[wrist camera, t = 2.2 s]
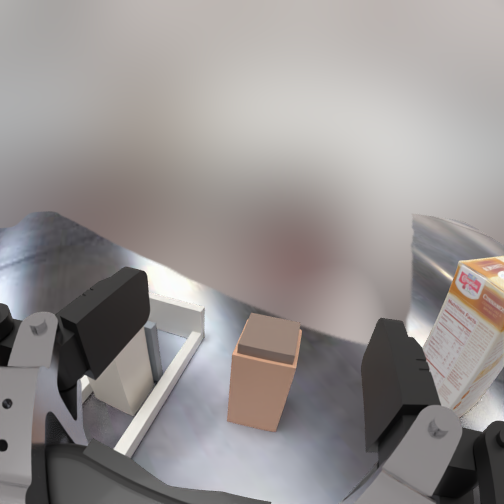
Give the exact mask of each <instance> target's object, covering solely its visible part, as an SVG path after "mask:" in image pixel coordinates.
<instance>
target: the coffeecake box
mask: <svg viewBox="0 0 504 504" xmlns="http://www.w3.org/2000/svg"><path fill="white" fill-rule="evenodd" d="M422 349H423V351H424V354H425V357H426V362H428V365H429V368H430V370H429V372H431V374H432V377H433V380H434V383H435V386H436V390H437V393H438V396H439V400H440V403H441V406H444V407H447V408H449V409H450V410H452V411H453V412H454V413H455V414H456V415H457V416H458V418H460V417H461V416H463V415H464V414H465V413H466V412H468V411H469V410H470V409H471V408H472V407H473V406H475V405H476V404H477V403H478V402H479V400H480V399H481V397H482V396H483V395H484V393H485V392H486V391H487V389H488V388H489V387H490V385H491V384H492V382H493V381H494V380H495V378H496V377H497V375H498V374H499V372H500V371H501V370H502V368H503V366H504V256H499V257H491V258H483V259H475V260H466V261H459V263H458V267H457V270H456V273H455V276H454V279H453V281H452V284H451V287H450V289H449V292H448V294H447V297H446V299H445V301H444V304H443V306H442V309H441V311H440V313H439V315H438V318H437V320H436V322H435V324H434V326H433V328H432V330H431V332H430V335H429V337H428V339H427V341H426V343H425V344H424V346H423V348H422Z"/></svg>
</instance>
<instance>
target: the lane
mask: <svg viewBox="0 0 504 504" xmlns="http://www.w3.org/2000/svg"><path fill="white" fill-rule="evenodd" d="M149 300H150V315H149V318H148V321H151V322H154V323H156V327H157V329H159V330H162V331H165V332H169V333H172V334H175V335H178V336H182V337H185V338H188V339H187V340H186V342H185V343H184V345H183V346H182V348H181V349H180V351H179V352H178V353H177V355H176V356H175V358H174V359H173V361H172V362H171V364H170V365H169V367H168V368H167V370H166V371H165V373H164V374H163V376H162V377H161V379H160V380H159V382H158V383H157V385H156V386H155V388H154V389H153V391H152V392H151V394H150V395H149V397H148V398H147V400H146V401H145V403H144V404H143V406H142V407H141V409H140V410H139V412H138V413H137V415H136V416H135V418H134V419H133V421H132V422H131V424H130V425H129V427H128V428H127V430H126V431H125V433H124V434H123V436H122V437H121V439H120V440H119V442H118V443H117V445H116V446H115V448H114V450H116V451H117V452H119V453H121V454H123V455H125V456H128V457H129V458H131V457H132V455H133V453H134V452H135V450H136V448H137V447H138V445H139V444H140V442H141V440H142V439H143V437H144V435H145V434H146V432H147V430H148V429H149V427H150V426H151V424H152V422H153V421H154V419H155V417H156V416H157V414H158V412H159V411H160V409H161V407H162V406H163V404H164V402H165V401H166V399H167V398H168V396H169V394H170V393H171V391H172V389H173V388H174V386H175V384H176V383H177V381H178V379H179V378H180V376H181V374H182V373H183V371H184V370H185V368H186V366H187V365H188V363H189V361H190V360H191V358H192V356H193V355H194V353H195V351H196V350H197V348H198V346H199V345H200V343H201V341H202V340H203V338H204V313H205V307H204V306H200V305H196V304H192V303H188V302H184V301H180V300H176V299H173V298H169V297H165V296H162V295H158V294H155V293H151V292H149ZM80 381H81V384H82V404H83V403H84V401H85V400H86V399H87V398H88V397H89V395H90V394H91V393H92V392H93V390H92V387H91V385H90V383H89V380H88V378H87V376H86V375H84V376H83V378H82V379H81V380H80Z"/></svg>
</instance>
